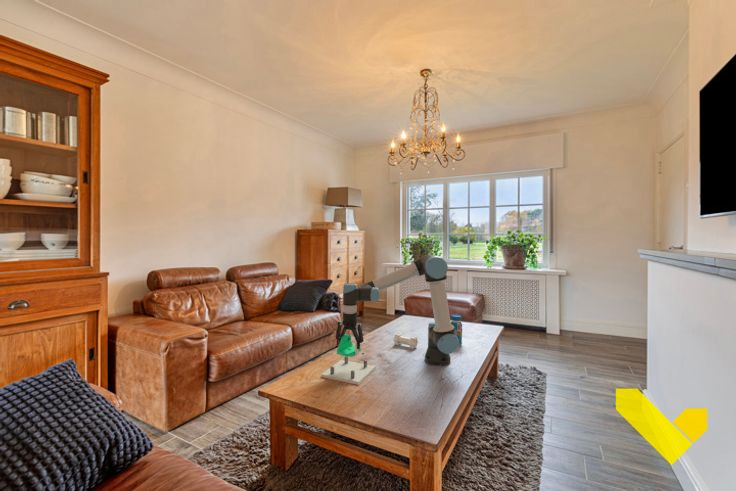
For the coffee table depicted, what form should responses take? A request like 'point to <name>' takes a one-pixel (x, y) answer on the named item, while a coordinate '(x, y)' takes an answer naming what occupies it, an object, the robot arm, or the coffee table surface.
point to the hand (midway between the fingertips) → (349, 353)
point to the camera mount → (346, 346)
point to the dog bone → (405, 340)
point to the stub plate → (349, 371)
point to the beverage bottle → (457, 327)
